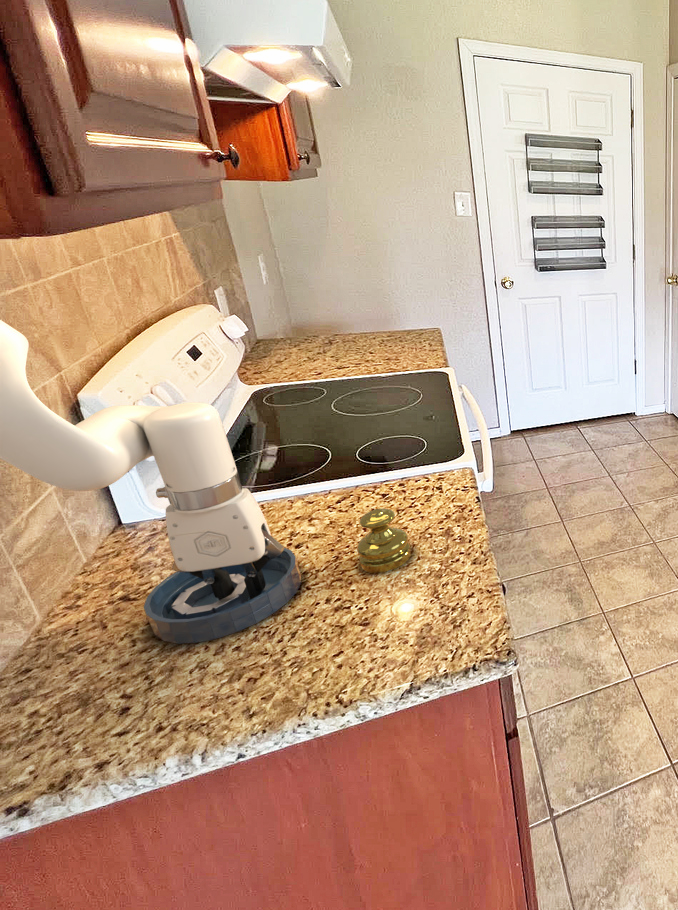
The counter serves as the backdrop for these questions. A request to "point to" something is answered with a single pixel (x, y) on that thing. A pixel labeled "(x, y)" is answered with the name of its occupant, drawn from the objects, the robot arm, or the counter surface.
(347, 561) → the counter surface
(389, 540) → the brass weight
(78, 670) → the counter surface
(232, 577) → the ring
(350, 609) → the counter surface
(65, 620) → the counter surface
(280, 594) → the bowl
